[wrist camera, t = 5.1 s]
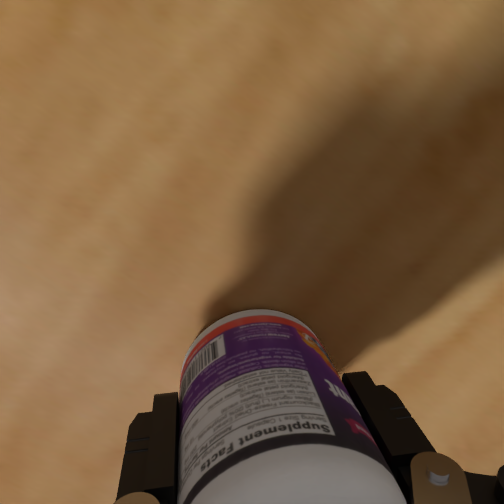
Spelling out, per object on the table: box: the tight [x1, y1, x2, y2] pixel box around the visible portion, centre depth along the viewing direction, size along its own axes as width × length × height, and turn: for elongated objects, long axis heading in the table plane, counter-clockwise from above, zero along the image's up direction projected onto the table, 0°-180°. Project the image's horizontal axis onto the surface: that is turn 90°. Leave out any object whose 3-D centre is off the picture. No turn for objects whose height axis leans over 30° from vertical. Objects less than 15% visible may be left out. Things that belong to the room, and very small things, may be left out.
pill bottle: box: [177, 309, 407, 504], centre depth 11 cm, size 5×5×10 cm
